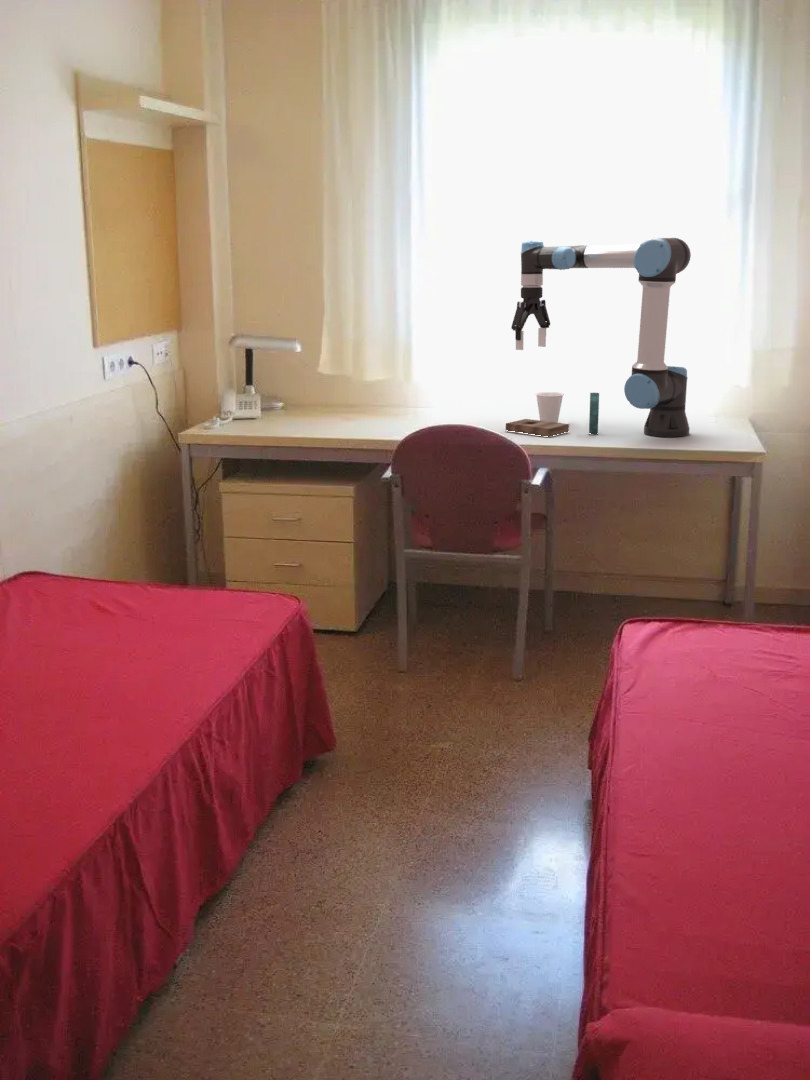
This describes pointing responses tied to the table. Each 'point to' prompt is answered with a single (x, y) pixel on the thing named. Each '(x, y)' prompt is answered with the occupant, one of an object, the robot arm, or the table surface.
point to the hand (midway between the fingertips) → (530, 348)
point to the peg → (594, 413)
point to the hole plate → (537, 427)
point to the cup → (549, 405)
